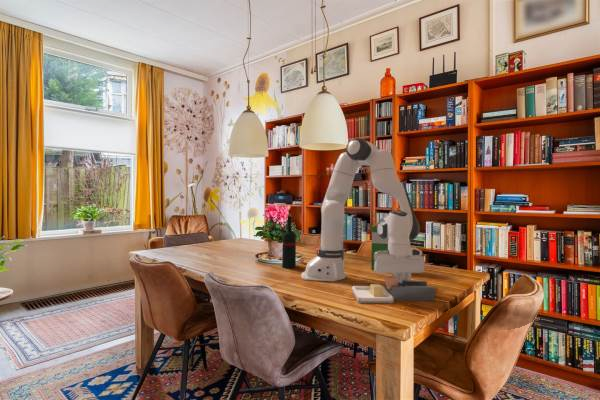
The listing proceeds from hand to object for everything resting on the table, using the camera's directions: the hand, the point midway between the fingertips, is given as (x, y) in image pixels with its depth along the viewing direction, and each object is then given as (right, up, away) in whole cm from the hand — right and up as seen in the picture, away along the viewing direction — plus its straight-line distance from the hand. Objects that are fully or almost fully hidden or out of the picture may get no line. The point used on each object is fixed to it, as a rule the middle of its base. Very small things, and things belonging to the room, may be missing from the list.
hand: (399, 283), depth 140 cm
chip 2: (-3, -1, 0) cm, 3 cm away
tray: (-11, -5, 0) cm, 12 cm away
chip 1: (-7, -3, 0) cm, 8 cm away
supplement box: (+7, -5, +19) cm, 21 cm away
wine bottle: (-47, -4, +53) cm, 71 cm away
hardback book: (+8, -4, +48) cm, 49 cm away
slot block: (+4, -6, 0) cm, 7 cm away
